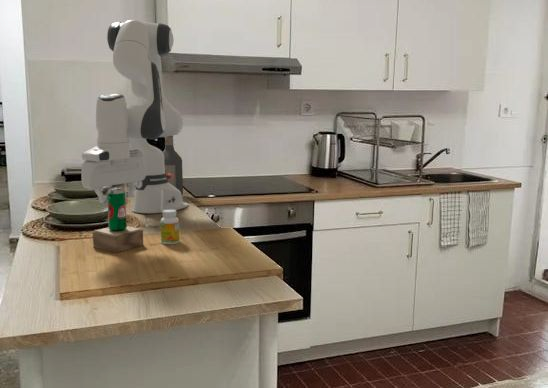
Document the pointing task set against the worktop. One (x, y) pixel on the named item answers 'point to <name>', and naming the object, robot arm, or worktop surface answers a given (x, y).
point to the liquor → (173, 164)
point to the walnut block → (117, 239)
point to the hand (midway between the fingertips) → (116, 199)
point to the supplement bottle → (169, 227)
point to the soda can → (116, 209)
